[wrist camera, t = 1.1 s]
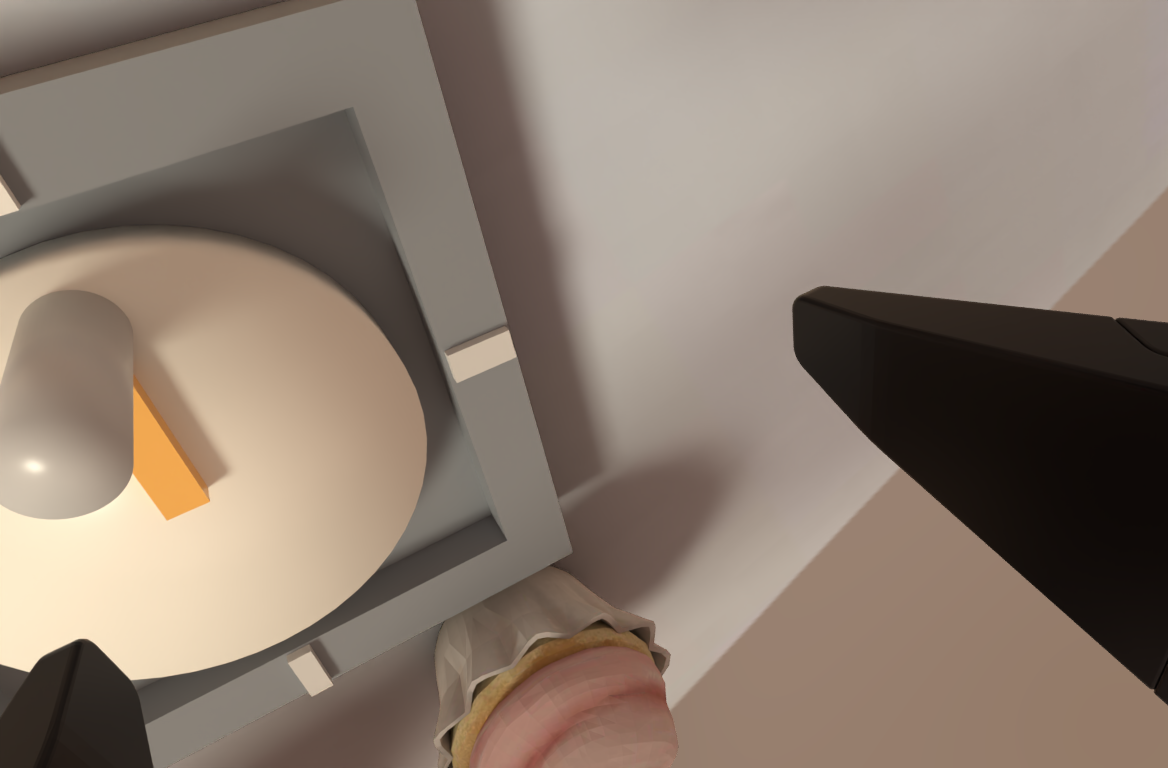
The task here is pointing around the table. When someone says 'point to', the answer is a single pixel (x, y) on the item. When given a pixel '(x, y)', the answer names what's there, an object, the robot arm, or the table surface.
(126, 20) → the table surface
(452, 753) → the cupcake
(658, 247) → the table surface
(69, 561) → the dial
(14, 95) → the dial panel
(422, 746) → the table surface
